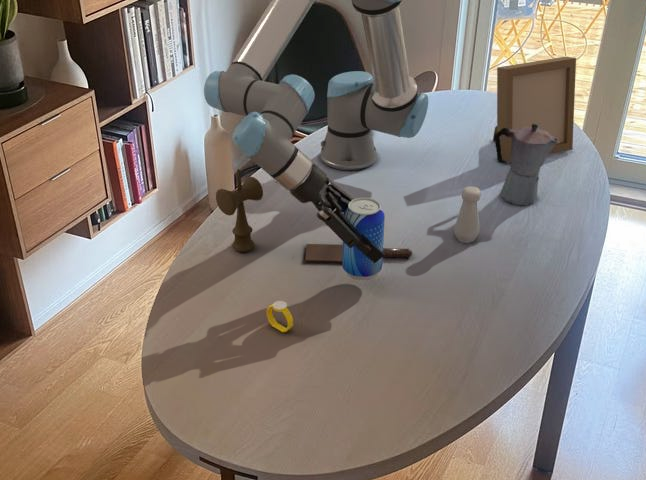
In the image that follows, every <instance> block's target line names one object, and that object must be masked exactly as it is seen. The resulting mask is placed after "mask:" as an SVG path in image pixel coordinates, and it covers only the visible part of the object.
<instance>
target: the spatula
mask: <svg viewBox="0 0 646 480" xmlns="http://www.w3.org/2000/svg"><path fill="white" fill-rule="evenodd" d="M383 253H384V254H385V256H383V257H382V258H406V259H407V258H411V257H412V256H413V251H412V250H411V249H410V248H399V247H398V248H396V247H395V248H394V247H393V248H392V247H383ZM342 262H343V244H330V243H329V244H328V243H327V244H326V243H324V244H323V243H306V250H305V258H304V263H305V264H306V263H307V264H342Z"/></svg>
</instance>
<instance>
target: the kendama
mask: <svg viewBox="0 0 646 480" xmlns="http://www.w3.org/2000/svg"><path fill="white" fill-rule="evenodd" d="M263 196H264V191H263V186H262V184H261V182H260V181H259V180H258V179H257V178H256V177H254V176H248V177H246V178H245V179H244V181H243V182H242V177H241V171H240V169H239V168H237V169H236V189H234V190H228V189H225V188H220V189H217V190H216V192H215V200H216V204H217V208H218V209H219V210H220V211H221V212H222V213H223V214H224V215H226V216H234V214H235V213H236V219H235V225H234V227H233V228H232V230H231V231H232V233H233V236H234V240H233V242H232V243H231V248H232V250H234V251H235V252H238V253H248V252H250V251H251V250H253V249H254V248H255V246H256V244H255V241H253V239H252V237H251V236H252V233H253V227H252V226H251V225H249V222H248V217H247V214H246V209H245V203H244V202H245V201H248V200H249V201H254V202H255V201H257V202H258V201H261V200H262V199H263Z"/></svg>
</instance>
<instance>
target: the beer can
mask: <svg viewBox="0 0 646 480" xmlns="http://www.w3.org/2000/svg"><path fill="white" fill-rule="evenodd" d="M353 199H354V200H352V201H350V202H349V204H348V208H347V209H346V210H345V212H344V213H343V214H344V215H345V217H346V218H347V219H348V220H349V222H350V223H351V224H352V225H353V226H354V228H355V229H356V230H357V231H358V232H359V234H360V235H362V234H363V235H364V236H365V237H366V238H368V239H369V240H370V241H371V242H372V243H373V244H374V245H376V246H377V247H378V248H379V249H380V250H381V251H382V252H383V248H384V239H385V237H384V235H385V220H386V219H385V216H386V215H385V212H384V211H383V209H382V207H381V206H382V205H381V203H380V201H378V200H376V199H374V198H370V197H357V198H353ZM342 245H343V262H342V263H341V264H342V265H341V266H342V269H343V270H344V272H345V273H346V275H347V276H348V277H350V278H352V279H354V280H358V281H367V280H368V281H369V280H371V279H374V278H375V277H376V276H377V275H378V274H379V273H380V272H381V270H382V268H383V257H382V258H381V259H380V260H378V261H377V262H376V263H374V262H373V261H372V260H371V259H370V258H368V257H367V256H366V255H365V254H364V253H363V252H361V251H360V250H359V249H358V248H357V247H356V246H353V247H352V248H349V247H348V246H347V245H346V244H345V243H344V242H343V241H342Z"/></svg>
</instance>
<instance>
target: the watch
mask: <svg viewBox="0 0 646 480" xmlns="http://www.w3.org/2000/svg"><path fill="white" fill-rule="evenodd" d="M273 311H275V312H277V313H282V314H283V315H284V317H285V319H286V322H287V327H285V326H284V325H282V323H281V324H280V323H279V322H278V321H277V320H276V318H275V317H274V314H273ZM266 318H267V320H268V322H269V324H270V325H271V327H273V328H274V329H276V330H277V331H280V332H281V333H287V332H289V330H291V329H292V328H293V326H294V319H293V318H294V317H293V315H292V313H291V312H290V310H289V309H288V304H287V302H285V301H283V300H277V301H274V302H273V303H272V304H271V305H269V306H268V307H267V308H266Z"/></svg>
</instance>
